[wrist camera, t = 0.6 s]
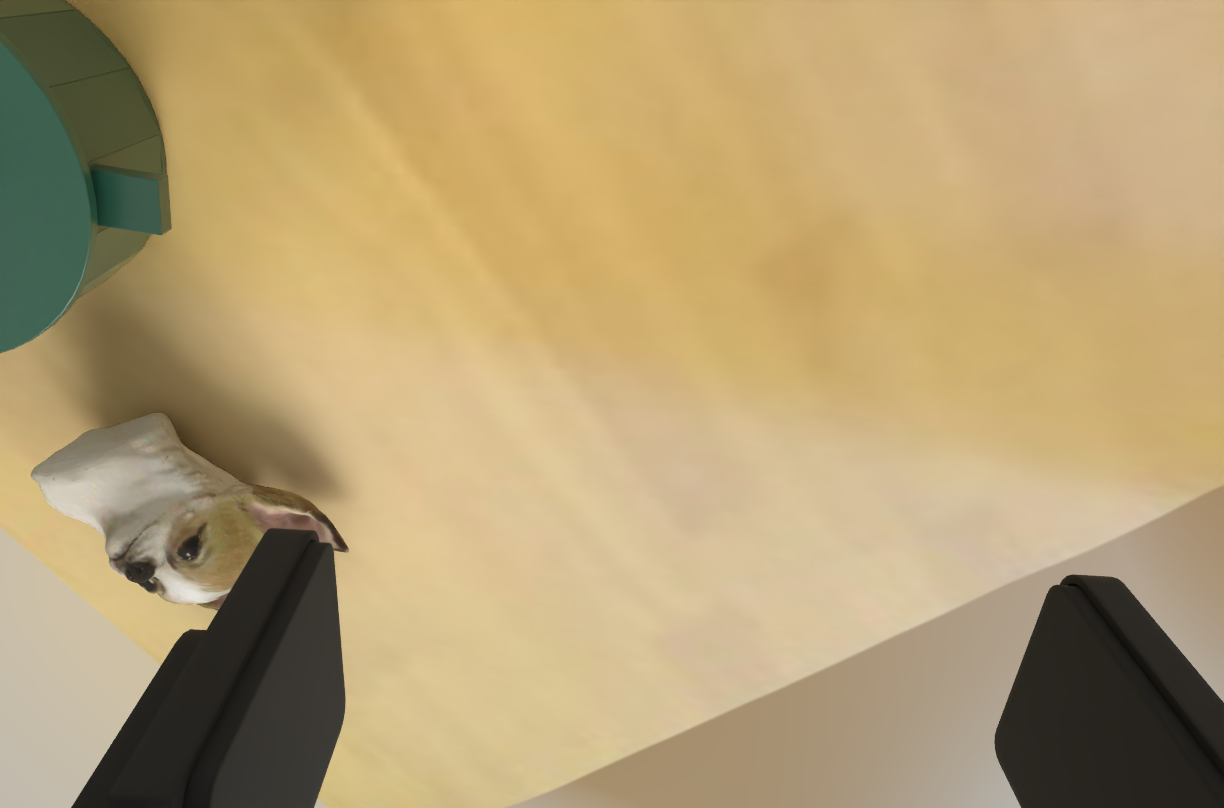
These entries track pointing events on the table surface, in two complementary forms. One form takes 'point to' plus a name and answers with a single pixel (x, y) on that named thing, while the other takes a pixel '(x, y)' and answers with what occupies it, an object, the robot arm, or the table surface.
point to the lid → (39, 205)
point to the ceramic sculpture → (170, 509)
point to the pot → (99, 124)
